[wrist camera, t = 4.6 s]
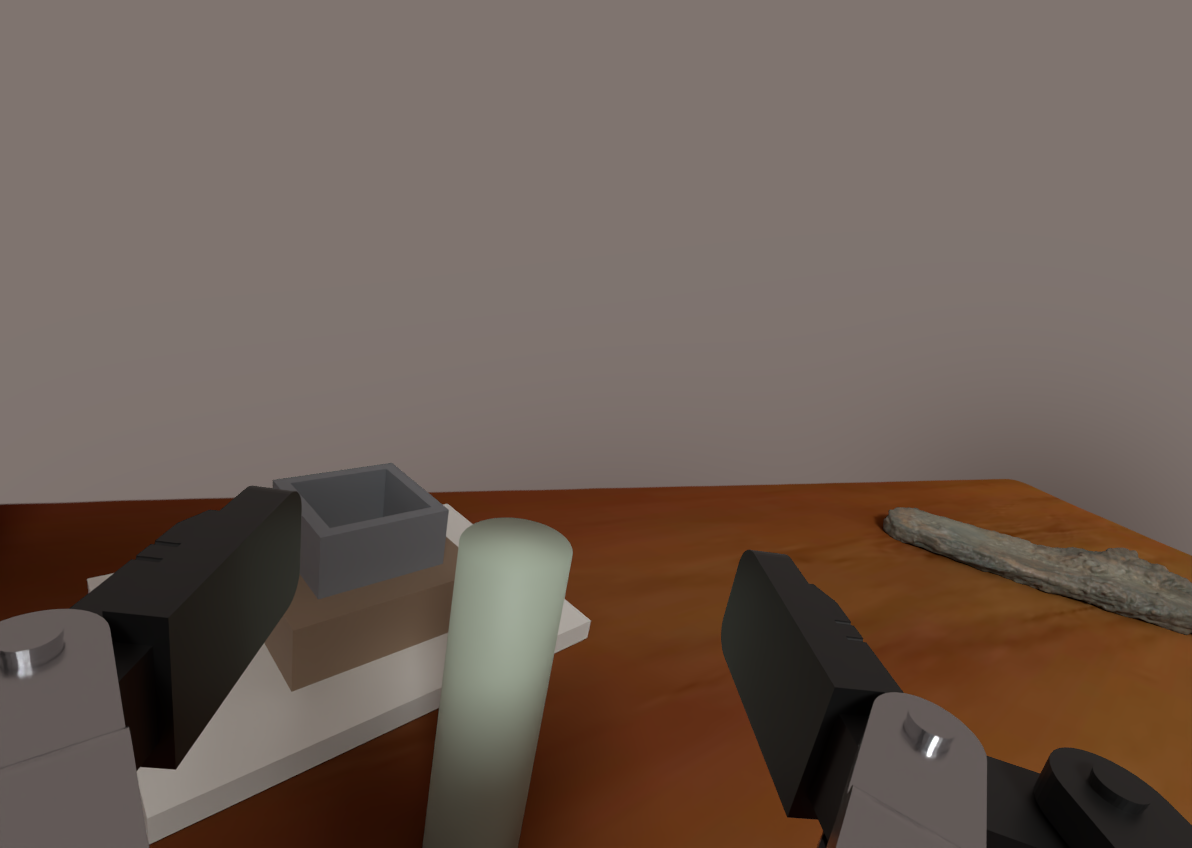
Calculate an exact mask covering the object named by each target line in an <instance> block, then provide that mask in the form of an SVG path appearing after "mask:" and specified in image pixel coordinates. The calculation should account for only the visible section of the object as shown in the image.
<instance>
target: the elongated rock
mask: <svg viewBox="0 0 1192 848" xmlns="http://www.w3.org/2000/svg"><path fill="white" fill-rule="evenodd" d="M883 529H884V531H885V532H886V533H887V534H889V536H891V537H892V538H894V539H896V540H899V541H901V542H903V543H910V544H913V545H915V546H919V547H922V548H925V549H926V550H929V551H931V552H935V553H937V554H940V555H944V556H947V557H949V558H951V559H953V560H955V561H958V562H962V563H964V564H968V565H970V566H972V567H974V568H976V569H978V570H981V571H983V572H991V573H994V574H997V575H1000V576H1002V577H1004V578H1007V579H1011V580H1013V581H1014V582H1017V583H1020V584H1025V585H1028V586H1030V587H1033V588H1036V589H1039V590H1041V591H1045V592H1047V593H1052V594H1059V595H1062V596H1065V597H1071V598H1074V599H1076V600H1082V601H1085V602H1087V603H1089V604H1091V603H1092V604H1094V605H1096V606H1097V607H1101V608H1102V609H1104V610H1106V611H1109V612H1114V613H1116V614H1119V615H1122V616H1125V617H1129V618H1139V619H1142V620H1144V621H1146V622H1149V623H1153V624H1155V625H1158V626H1160V627H1163V628H1166V629H1169V630H1172V631H1175V632H1177V633H1181V634H1185V635H1188V634H1190V633H1192V583H1191V582H1190V581H1188V579H1186V578H1183V577H1181V576H1179V575H1177V574H1174V573H1172V572H1168V569H1167V568H1166V567H1165V566H1162V565H1159V564H1151V563H1149V562H1147V561H1145V560H1142V559H1140V558H1138V553H1137V552H1136V551H1134V550H1133V551H1129V550H1128V549H1125V548H1114V549H1112V548H1108V549H1107V550H1106V551H1103V552H1097V551H1095V552H1093V551H1087V550H1084V549H1078V548H1074V547H1072V548H1051V547H1046V546H1043V545H1036V544H1032V543H1031V542H1030V541H1027V540H1023V539H1020V538H1017V537H1012V536H1010V535H1005V534H1000V533H998V532H995V531H989V530H985V529H981V528H978V527H975V526H974V525H969V524H965V523H962V522H958V521H954V520H952V519H949V518H946V517H941V516H936V515H933V514H930V513H927V512H924V511H920V510H919V509H918V508H914V509H913V508H899V507H898V508H895V509H894V510H889V515H888V516H887V517H886V518H885V519H884V523H883Z"/></svg>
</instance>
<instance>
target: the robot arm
mask: <svg viewBox="0 0 1192 848" xmlns="http://www.w3.org/2000/svg"><path fill="white" fill-rule="evenodd" d="M301 514H302V503H301V497H300V494H299V493H298V492H297V491H289V490H282V489H274V488H266V487H257V486H249V487H247V488H246V489H245V490H243V491H242V492H241V493H240V494H239V495H238V496H236V497H235V498H234V499H233V500H232V501H231V502H229V503H228V504H227V505H226V506H225V507H224V508H222V509H221V510H220V511H216V510H208V511H205V512H203V513H201V514H198V515H196V516H193V517H191V518H188V519H186V520H184V521H181V522H179V523H177V524H176V525H174V526H173V527H172V528H171V529H169V530H168V531H167V532H166V533H164V534H163V535H162V536H161V537H159V538H158V539H157V540H155V544H150V545H149V546H148V547H147V548H145V549H144V550H143V551H142V552H140V553H139V554H138V555H136V559H135V560H132V559H131V560H130V561H129V562H128V563H126V564H125V565H124V566H123V567H121V568H120V569H119V570H118V571H116V572H115V573H114V574H112V575H111V576H110V577H109V578H107V579H106V580H105V581H104V582H102V583H101V584H100V585H99V586H97V587H96V588H95V589H93V590H92V591H91V592H90V593H88V594H87V595H86V596H85V597H83V598H82V599H81V600H80V601H78V602H77V603H76V604H74V605H73V606H72V607H71V608H69V609H53V610H43V611H38V612H32V613H27V614H23V615H19V616H15V617H12V618H9V619H6V620H3V621H0V848H149V844H148V838H147V831H146V825H145V819H144V813H143V807H142V801H141V795H140V789H139V783H138V777H137V770H138V769H139V768H140V767H146V768H160V769H173V770H176V769H177V767H178V766H179V765H180V763H181V762H182V760H183V759H184V757H185V756H186V754H187V753H188V752H189V750H190V749H191V747H192V746H193V744H194V743H195V742H196V740H197V739H198V737H199V736H200V734H201V733H202V731H203V730H204V729H205V727H206V726H207V724H208V723H209V721H210V720H211V719H212V717H213V716H214V714H215V713H216V711H217V710H218V708H219V707H220V706H221V704H222V703H223V701H224V700H225V698H226V697H227V696H228V694H229V693H230V691H231V690H232V688H233V687H234V685H235V684H236V683H237V681H238V680H239V678H240V677H241V675H242V674H243V673H244V671H245V670H246V668H247V667H248V665H249V664H250V663H251V661H252V660H253V658H254V657H255V655H256V654H257V652H258V651H259V650H260V648H261V647H262V645H263V644H264V642H265V641H266V640H267V638H268V637H269V635H270V634H271V632H272V631H273V629H274V628H275V627H276V625H277V624H278V622H279V621H280V619H281V618H282V617H283V615H284V614H285V612H286V611H287V609H288V608H289V606H290V604H291V602H292V600H293V598H294V595H295V592H296V589H297V585H298V580H299V574H300V548H301ZM721 642H722V650H723V654H724V657H725V659H726V662H727V664H728V667H729V670H730V672H731V675H732V677H733V680H734V682H735V685H736V687H737V690H738V693H739V695H740V698H741V700H742V703H743V705H744V708H745V710H746V713H747V716H748V718H749V721H750V723H751V726H752V728H753V731H754V733H755V736H756V739H757V741H758V744H759V746H760V749H761V751H762V754H763V756H764V759H765V762H766V764H767V767H768V769H769V772H770V774H771V777H772V779H773V782H774V785H775V787H776V790H777V792H778V795H779V797H780V800H781V802H782V805H783V807H784V810H785V813H786V815H787V817H791V818H805V819H818V820H819V822H820V824H821V827H822V829H823V833H822V835H821V838H820V840H819V843H818V845H817V848H1192V825H1191V824H1190V823H1189V822H1188V821H1187V820H1186V819H1185V818H1184V817H1183V816H1182V815H1181V814H1180V813H1179V812H1178V811H1177V810H1176V809H1175V808H1174V807H1173V806H1172V805H1171V804H1170V803H1169V802H1168V801H1167V800H1165V799H1164V798H1163V797H1162V796H1161V795H1160V794H1159V793H1158V792H1157V791H1155V790H1154V789H1153V788H1152V787H1151V786H1149V785H1148V784H1147V783H1145V782H1144V781H1143V780H1141V779H1140V778H1138V777H1137V776H1136V775H1134V774H1132V773H1131V772H1129V771H1128V770H1126V769H1124V768H1123V767H1121V766H1119V765H1117V764H1115V763H1114V762H1111V761H1109V760H1107V759H1105V758H1103V757H1101V756H1098V755H1096V754H1093V753H1090V752H1087V751H1084V750H1080V749H1075V748H1058V749H1056V750H1054V751H1053V752H1052V753H1051V754H1050V756H1049V758H1048V760H1047V762H1046V764H1045V766H1044V768H1043V770H1042V771H1041V773H1037V772H1034V771H1031V770H1028V769H1025V768H1022V767H1019V766H1016V765H1013V764H1010V763H1007V762H1004V761H1001V760H998V759H995V758H992V757H989V756H986V753H985V751H984V748H983V746H982V745H981V743H980V741H979V740H978V739H977V737H976V736H975V735H974V734H973V733H972V731H971V730H970V729H969V728H968V727H967V726H966V725H964V724H963V723H962V722H961V721H960V720H959V719H957V718H956V717H955V716H953V715H952V714H951V713H949V712H948V711H946V710H944V709H943V708H941V707H939V706H937V705H936V704H934V703H932V702H929V701H927V700H925V699H923V698H920V697H917V696H914V695H910V694H906V693H903V691H902V690H901V689H900V687H899V686H898V685H897V683H896V682H895V681H894V679H893V678H892V677H891V675H890V674H889V673H888V671H887V670H886V668H885V667H884V666H883V664H882V663H881V662H880V660H879V659H878V658H877V656H876V655H875V654H874V652H873V651H872V650H871V648H870V647H869V646H868V644H867V643H866V642H863V638H862V636H861V635H860V634H859V632H858V631H857V630H856V628H855V627H854V626H852V625H851V621H850V620H849V619H848V617H847V616H846V615H845V613H844V612H843V611H842V609H841V608H840V607H839V605H838V604H837V603H836V602H835V601H834V600H833V599H831V598H830V597H829V596H828V595H826V594H825V593H824V592H823V591H821V590H820V589H819V588H817V587H816V586H815V585H814V584H808V582H807V581H806V579H805V578H804V576H803V575H802V574H801V572H800V571H799V569H798V568H797V567H796V565H795V564H794V562H793V561H792V559H791V558H790V557H789V556H788V555H785V554H778V553H770V552H762V551H754V550H747V551H745V552H744V553H743V555H742V557H741V559H740V562H739V565H738V569H737V572H736V576H735V579H734V583H733V586H732V590H731V593H730V597H729V600H728V604H727V607H726V611H725V614H724V618H723V622H722V630H721Z"/></svg>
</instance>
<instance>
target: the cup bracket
mask: <svg viewBox="0 0 1192 848" xmlns="http://www.w3.org/2000/svg"><path fill="white" fill-rule="evenodd" d="M273 488H274V489H282V490H289V491H297V492H298V493H299V494H300V497H301V503H302V514H301V548H300V574H299V580H298V585H297V589H296V592H295V595H294V598H293V600H292V602H291V604H290V606H289V608H288V609H287V611H286V612H285V614H284V615H283V617H282V618H281V619H280V621H279V622H278V624H277V625H276V627H275V628H274V629H273V631H272V632H271V634H270V635H269V637H268V638H267V640H266V641H265V642H264V644H263V645H262V647H261V648H260V650H259V651H258V652H257V654H256V655H255V657H254V658H253V660H252V661H251V663H250V664H249V665H248V667H247V668H246V670H245V671H244V673H243V674H242V675H241V677H240V678H239V680H238V681H237V683H236V684H235V685H234V687H233V688H232V690H231V691H230V693H229V694H228V696H227V697H226V698H225V700H224V701H223V703H222V704H221V706H220V707H219V708H218V710H217V711H216V713H215V714H214V716H213V717H212V719H211V720H210V721H209V723H208V724H207V726H206V727H205V729H204V730H203V731H202V733H201V734H200V736H199V737H198V739H197V740H196V742H195V743H194V744H193V746H192V747H191V749H190V750H189V752H188V753H187V754H186V756H185V757H184V759H183V760H182V762H181V763H180V765H179V766H178V767H177V769H176V770H173V769H160V768H146V767H140V768H139V769H138V770H137V777H138V783H139V789H140V795H141V801H142V807H143V813H144V819H145V825H146V831H147V838H148V842H149V844H151V843H153V842H156V841H158V840H160V839H162V838H164V837H166V836H168V835H170V834H173V833H175V832H177V831H179V830H181V829H183V828H185V827H187V826H189V825H192V824H194V823H196V822H198V821H200V820H202V819H204V818H206V817H209V816H211V815H213V814H215V813H217V812H219V811H221V810H223V809H225V808H228V807H230V806H232V805H234V804H236V803H238V802H240V801H242V800H245V799H247V798H249V797H251V796H253V795H255V794H257V793H259V792H262V791H264V790H266V789H268V788H270V787H272V786H274V785H276V784H278V783H281V782H283V781H285V780H287V779H289V778H291V777H293V776H295V775H298V774H300V773H302V772H304V771H306V770H308V769H310V768H312V767H315V766H317V765H319V764H321V763H323V762H325V761H327V760H329V759H331V758H334V757H336V756H338V755H340V754H342V753H344V752H346V751H348V750H351V749H353V748H355V747H357V746H359V745H361V744H363V743H365V742H368V741H370V740H372V739H374V738H376V737H378V736H380V735H382V734H384V733H387V732H389V731H391V730H393V729H395V728H397V727H399V726H401V725H404V724H406V723H408V722H410V721H412V720H414V719H416V718H418V717H420V716H423V715H425V714H427V713H429V712H431V711H433V710H435V709H437V708H439V705H440V696H441V688H442V680H443V672H444V663H445V655H446V647H447V638H448V630H449V622H450V613H451V605H452V597H453V588H454V580H455V572H456V563H457V555H458V547H459V539H460V536H461V534H462V533H463V532H464V531H465V529H467V528H468V527H469V526H471V525H473V524H472V523H470V522H469V521H468V520H467V519H465V518H464V517H463V516H462V515H461V514H459V513H458V512H457V511H456V510H454V509H453V508H452V507H451V506H450V505H448V504H444V505H442V504H441V503H440V502H439V501H437V500H436V499H435V498H434V497H433V496H431V495H430V494H429V493H428V492H427V491H425V490H424V489H423V488H422V487H420V486H419V485H418V484H417V483H416V482H414V481H413V480H412V479H411V478H410V477H408V476H407V475H406V474H405V473H403V472H402V471H401V470H400V469H399V468H397V467H396V466H395V465H394V464H392V463H388V464H381V465H374V466H367V467H361V468H354V469H347V470H340V471H333V472H326V473H319V474H312V475H305V476H299V477H291V478H284V479H277V480H273ZM113 574H114V573H113ZM111 575H112V574H108V575H103V576H98V577H94V578H89V579H87V583H88V593H90V592H91V591H92V590H93V589H95V588H96V587H97V586H99V585H100V584H101V583H102V582H104V581H105V580H106V579H107V578H109V577H110V576H111ZM590 622H591V620H589V619H588V618H587V617H586V616H584V615H583V614H582V613H581V612H580V611H578V610H577V609H576V608H575V607H573V606H572V605H571V604H570V603H569V602H567V601H566V600H565V599H564V603H563V608H562V614H561V619H560V624H559V630H558V635H557V641H556V646H555V651H554V653H556V652H558V651H560V650H562V649H565V648H567V647H569V646H571V645H573V644H575V643H577V642H579V641H582V640H584V639H586V638H587V637H588V632H589V627H590Z"/></svg>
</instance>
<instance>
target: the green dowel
mask: <svg viewBox="0 0 1192 848" xmlns="http://www.w3.org/2000/svg"><path fill="white" fill-rule="evenodd" d="M572 555H573V550H572V547H571V545H570V543H569V541H568V540H567V539H566V538H565V537H564V536H563V535H562V534H561V533H559V532H558V531H556V530H554V529H553V528H551V527H548V526H546V525H544V524H541V523H538V522H534V521H530V520H525V519H519V518H494V519H488V520H484V521H480V522H478V523H475V524H473V525H471V526H469V527H468V528H467V529H465V531H464V532H463V533H462V534H461V536H460V539H459V547H458V555H457V563H456V572H455V580H454V588H453V597H452V605H451V613H450V622H449V630H448V638H447V647H446V655H445V663H444V672H443V680H442V688H441V696H440V705H439V713H438V721H437V730H436V738H435V746H434V755H433V763H432V771H431V780H430V788H429V796H428V805H427V813H426V821H425V829H424V838H423V847H422V848H518V844H519V839H520V833H521V828H522V823H523V817H524V812H525V807H526V801H527V796H528V791H529V785H530V780H531V774H532V769H533V764H534V758H535V753H536V748H537V742H538V737H539V732H540V726H541V721H542V716H543V710H544V705H545V699H546V694H547V689H548V683H549V678H550V673H551V667H552V662H553V657H554V651H555V646H556V641H557V635H558V630H559V624H560V619H561V614H562V608H563V603H564V598H565V592H566V587H567V582H568V576H569V571H570V565H571V560H572Z"/></svg>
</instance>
